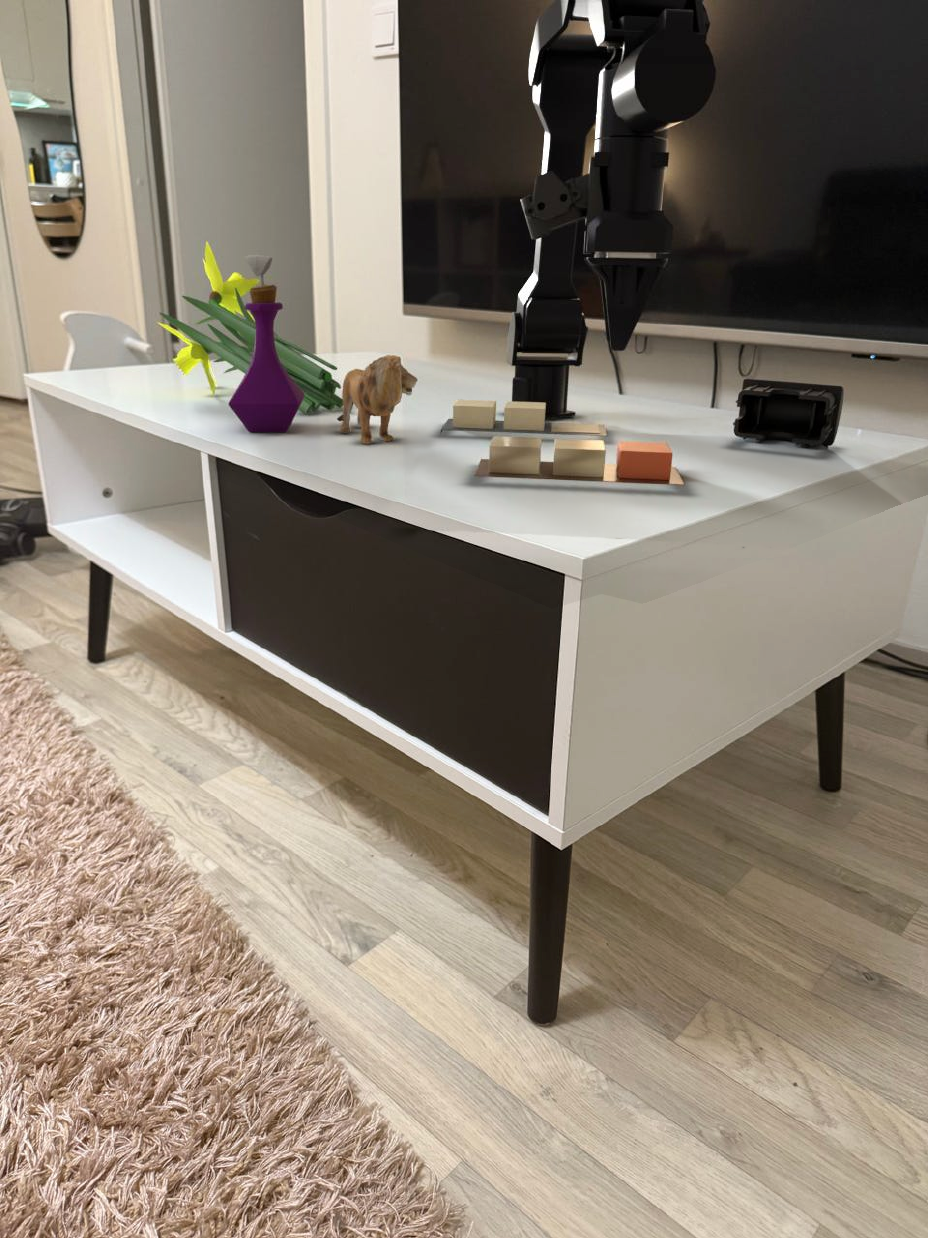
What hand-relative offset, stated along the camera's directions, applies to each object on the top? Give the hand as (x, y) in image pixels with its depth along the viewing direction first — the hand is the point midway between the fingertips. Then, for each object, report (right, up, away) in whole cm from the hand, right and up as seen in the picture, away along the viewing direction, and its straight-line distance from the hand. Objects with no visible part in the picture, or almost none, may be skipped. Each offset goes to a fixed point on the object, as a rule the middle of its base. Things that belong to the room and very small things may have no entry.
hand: (615, 345), depth 77 cm
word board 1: (-6, -3, +23) cm, 24 cm away
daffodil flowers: (-40, +6, +45) cm, 60 cm away
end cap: (+21, -5, +19) cm, 29 cm away
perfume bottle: (-35, -2, +23) cm, 42 cm away
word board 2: (-3, -11, +3) cm, 12 cm away
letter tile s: (+3, -11, +3) cm, 11 cm away
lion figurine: (-23, -4, +20) cm, 31 cm away
